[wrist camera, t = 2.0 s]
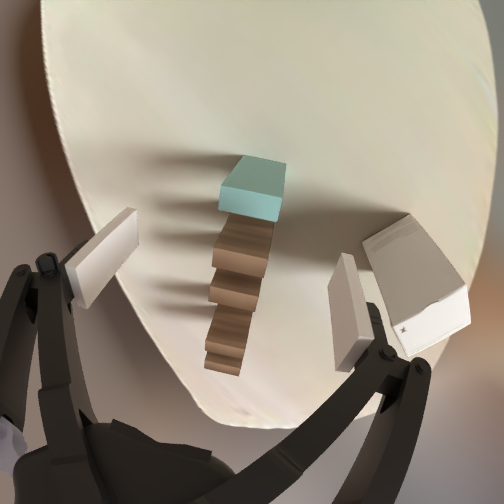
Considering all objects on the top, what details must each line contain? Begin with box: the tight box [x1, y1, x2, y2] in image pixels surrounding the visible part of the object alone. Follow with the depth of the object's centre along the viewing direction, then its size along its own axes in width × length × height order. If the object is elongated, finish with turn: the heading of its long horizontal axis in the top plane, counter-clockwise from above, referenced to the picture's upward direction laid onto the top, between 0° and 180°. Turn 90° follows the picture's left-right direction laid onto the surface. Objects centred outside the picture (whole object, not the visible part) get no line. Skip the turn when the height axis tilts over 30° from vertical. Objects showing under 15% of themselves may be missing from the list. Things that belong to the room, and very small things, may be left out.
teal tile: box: [218, 155, 286, 222], centre depth 27 cm, size 2×5×11 cm, turn 81°
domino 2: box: [209, 268, 262, 312], centre depth 33 cm, size 2×5×11 cm, turn 81°
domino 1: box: [212, 213, 274, 278], centre depth 30 cm, size 2×5×11 cm, turn 80°
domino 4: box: [204, 351, 243, 376], centre depth 40 cm, size 2×5×11 cm, turn 80°
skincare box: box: [362, 214, 471, 357], centre depth 27 cm, size 8×7×16 cm
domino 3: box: [205, 304, 253, 359], centre depth 38 cm, size 2×5×11 cm, turn 81°
